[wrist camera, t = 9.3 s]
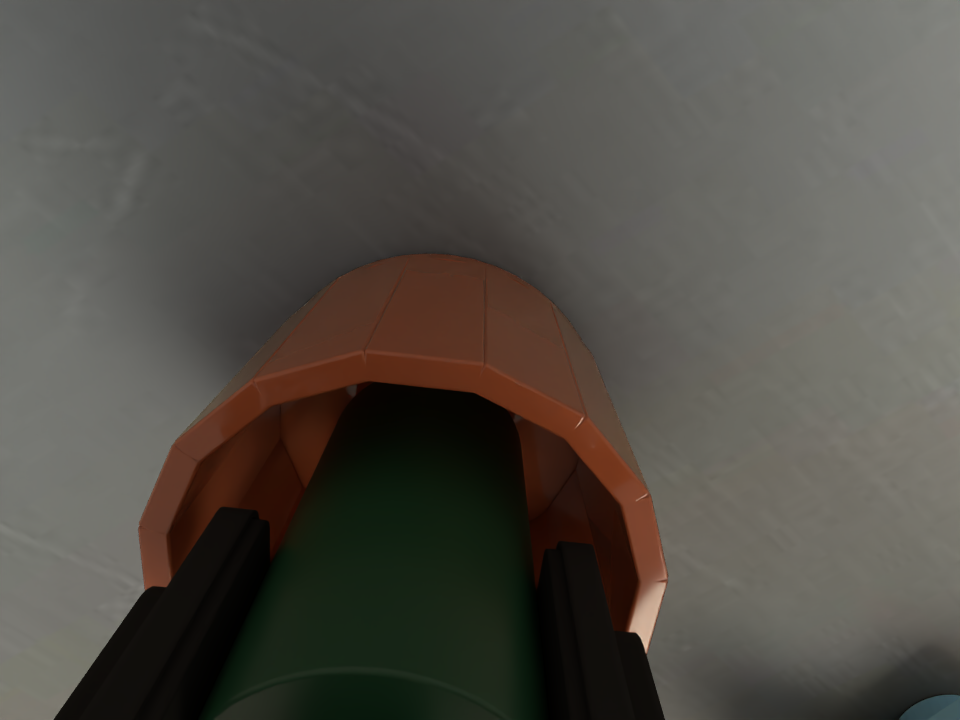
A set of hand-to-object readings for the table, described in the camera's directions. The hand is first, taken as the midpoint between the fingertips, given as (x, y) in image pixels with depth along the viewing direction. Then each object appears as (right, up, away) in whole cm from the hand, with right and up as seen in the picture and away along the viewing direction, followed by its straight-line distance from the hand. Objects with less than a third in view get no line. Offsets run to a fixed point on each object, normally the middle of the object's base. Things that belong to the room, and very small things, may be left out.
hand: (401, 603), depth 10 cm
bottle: (0, +2, +4) cm, 5 cm away
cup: (0, +3, +6) cm, 7 cm away
